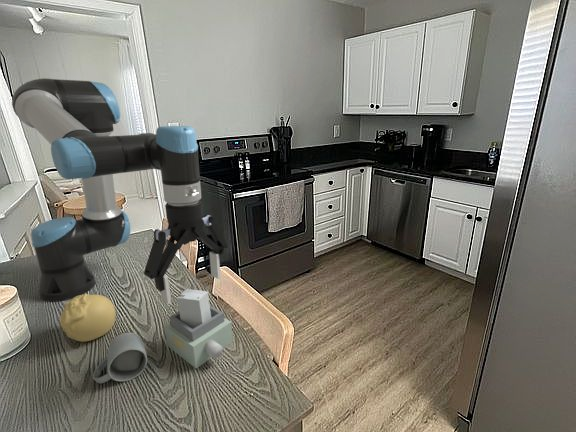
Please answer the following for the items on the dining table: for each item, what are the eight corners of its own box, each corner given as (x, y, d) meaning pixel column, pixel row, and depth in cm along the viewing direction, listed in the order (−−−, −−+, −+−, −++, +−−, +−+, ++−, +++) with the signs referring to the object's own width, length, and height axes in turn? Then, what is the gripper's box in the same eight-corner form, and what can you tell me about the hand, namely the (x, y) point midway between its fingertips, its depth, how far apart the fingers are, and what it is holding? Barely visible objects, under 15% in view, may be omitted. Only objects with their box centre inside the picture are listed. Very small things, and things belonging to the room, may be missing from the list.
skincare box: (213, 332, 77) (209, 290, 73) (204, 345, 73) (200, 300, 69) (192, 328, 78) (186, 287, 75) (182, 340, 74) (176, 297, 71)
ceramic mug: (144, 350, 75) (138, 323, 72) (150, 372, 68) (144, 344, 66) (93, 369, 70) (85, 341, 67) (95, 395, 63) (86, 365, 61)
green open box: (166, 345, 76) (161, 316, 74) (203, 323, 84) (200, 296, 82) (203, 375, 67) (199, 344, 65) (241, 347, 76) (239, 317, 73)
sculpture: (65, 329, 83) (56, 294, 79) (115, 313, 89) (109, 281, 85) (64, 355, 73) (53, 317, 70) (120, 336, 80) (112, 300, 76)
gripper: (134, 220, 54) (150, 321, 61) (239, 193, 72) (242, 272, 79) (114, 211, 58) (132, 306, 65) (218, 188, 77) (223, 264, 84)
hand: (192, 288), depth 72 cm, fingers open, 13 cm apart
